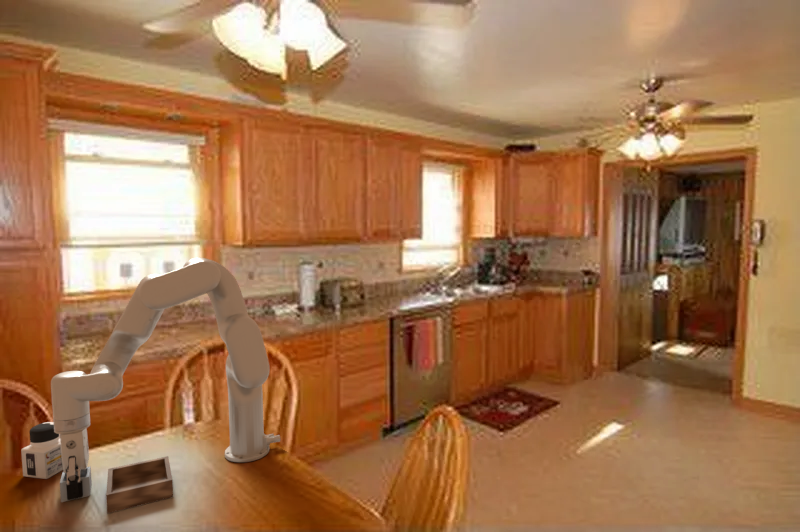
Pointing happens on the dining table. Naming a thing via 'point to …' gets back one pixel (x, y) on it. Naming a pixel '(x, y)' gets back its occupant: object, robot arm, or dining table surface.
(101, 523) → the dining table surface
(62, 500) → the small crate
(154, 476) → the box
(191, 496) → the dining table surface
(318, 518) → the dining table surface
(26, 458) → the container
